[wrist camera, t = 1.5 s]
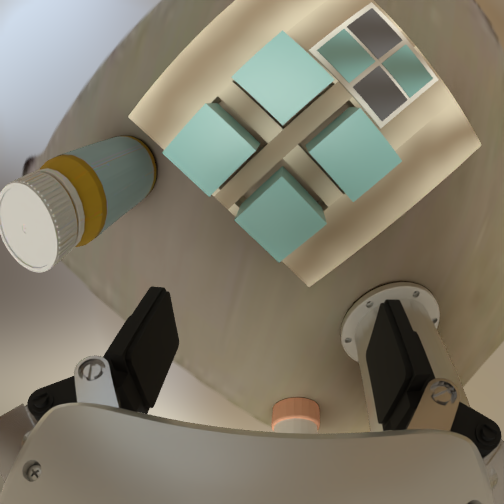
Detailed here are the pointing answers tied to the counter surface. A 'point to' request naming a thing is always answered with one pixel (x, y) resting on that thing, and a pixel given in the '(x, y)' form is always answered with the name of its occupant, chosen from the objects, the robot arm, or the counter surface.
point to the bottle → (73, 199)
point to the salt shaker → (296, 416)
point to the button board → (319, 113)
